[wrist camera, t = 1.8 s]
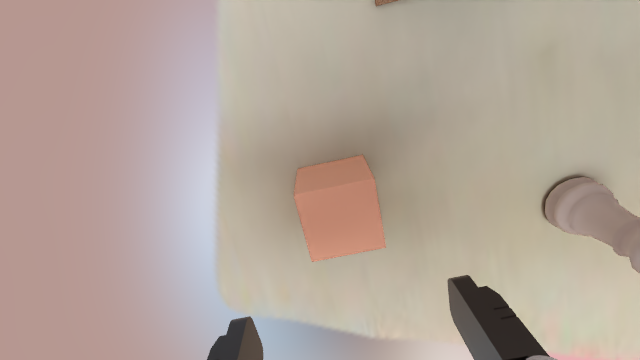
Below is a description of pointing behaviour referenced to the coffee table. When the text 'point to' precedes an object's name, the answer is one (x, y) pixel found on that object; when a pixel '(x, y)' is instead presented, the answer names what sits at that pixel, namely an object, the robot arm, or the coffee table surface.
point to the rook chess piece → (595, 216)
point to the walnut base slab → (383, 2)
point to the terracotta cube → (339, 208)
